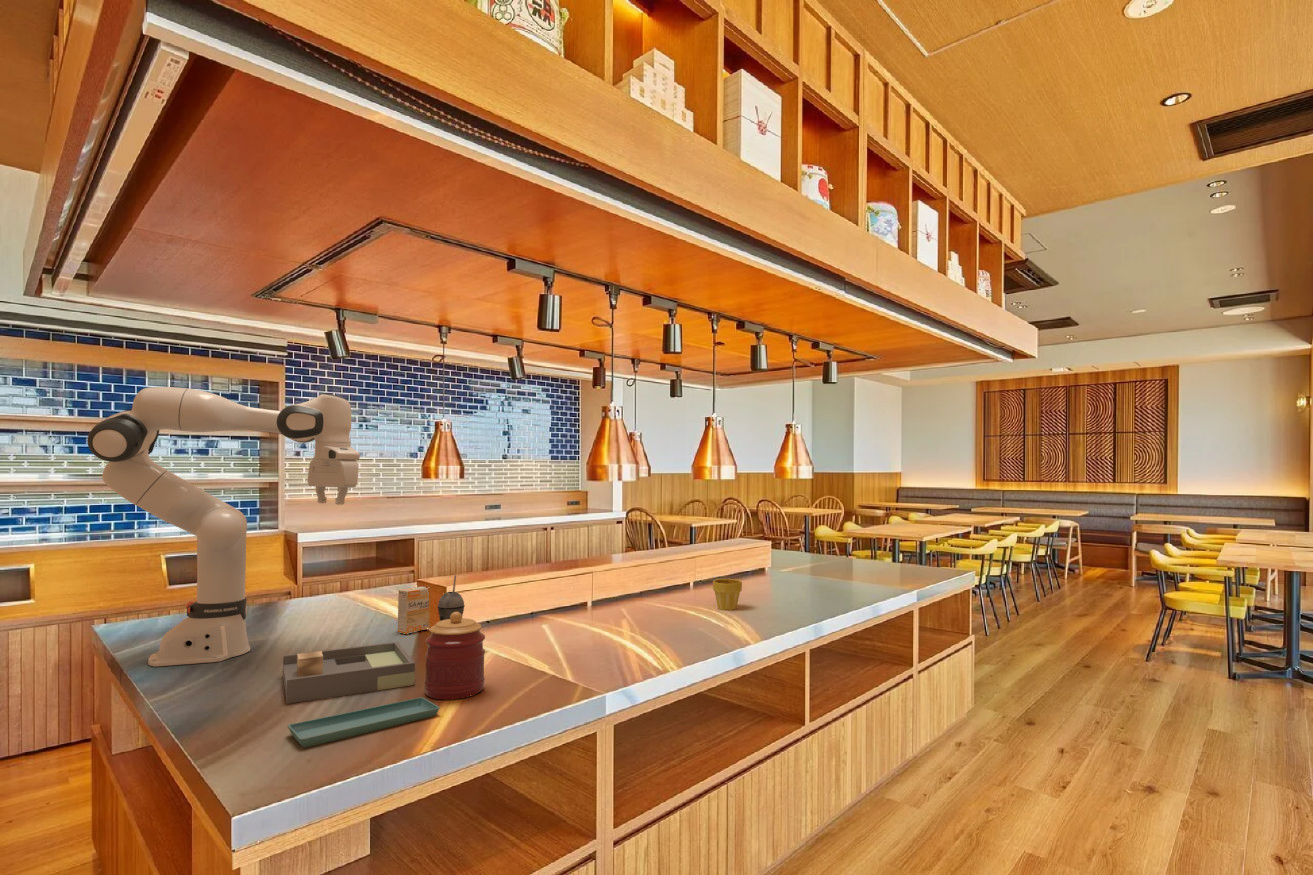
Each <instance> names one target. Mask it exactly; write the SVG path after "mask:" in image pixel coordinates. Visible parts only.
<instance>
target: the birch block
mask: <svg viewBox="0 0 1313 875" xmlns="http://www.w3.org/2000/svg"><path fill="white" fill-rule="evenodd" d="M317 651H318V652H316V651H309V653H308V652H302V653H301V652H300V653H301V654H299V653H296V654H297V674H298V677H304V676H311V675H319V674H323V654H322V651H323V650H317Z"/></svg>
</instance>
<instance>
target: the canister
mask: <svg viewBox="0 0 1313 875" xmlns="http://www.w3.org/2000/svg"><path fill="white" fill-rule="evenodd" d="M481 629H482V624H480V623H478V622H476V620H474V619H473V618H463V615H461V613H459V612H453V613H452V614H451V616H450V619H447V620H442V621H440V620H439V621H437V622H436V623H435V624H434V625H432V626H431V627H429V632H430V633H431V634H430V635H429V636H427V637H426V638H425V641H424V642H425V643H426V645H427V652H426V653H425V654H424V657H425V658H424V659H425V681H424V690H425V695H426V696H428V697H429V698H431V699H435V700H445V701H446V700H447V701H449V700H460V699H459V698H461V699H464V698H463V697H466V698H468V697H467V696H470V695H473V696H475V695H474V694H476V695H478V694H479V693H478V692H480V691H481V690H482V689H483V690H484V686H485V682H486V681H485V654H486V650H485V648H484V641H485V639H486V635H485V634H484V633H483V632H482V631H480V630H481ZM483 690H482V691H483ZM482 691H481V692H482ZM481 692H480V693H481ZM477 693H478V694H477ZM470 697H471V696H470Z"/></svg>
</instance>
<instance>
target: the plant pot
mask: <svg viewBox="0 0 1313 875" xmlns="http://www.w3.org/2000/svg"><path fill="white" fill-rule="evenodd" d="M742 590H743V582H742V580H740V579H736V578H735V579H734V578H718V579H717V578H716V579H714V580H712V591H714V594H715V599H716V600H715V601H716V605H717V609H719V610H722V611H735V610H736V609H737V607H738V601H739V598H740V594H741V592H742Z"/></svg>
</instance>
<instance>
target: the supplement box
mask: <svg viewBox="0 0 1313 875" xmlns="http://www.w3.org/2000/svg"><path fill="white" fill-rule="evenodd" d="M428 588H429V587H428ZM428 588H426V586H418V587H411V588H405V589H398V597H397V598H398V602H397V633H398V632H401V633H405V634H407V633H410V632H414V631H420V630H425V629H427V628H429V629H430V611H429V592H428V591H429V590H428ZM428 621H429V623H428Z"/></svg>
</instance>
